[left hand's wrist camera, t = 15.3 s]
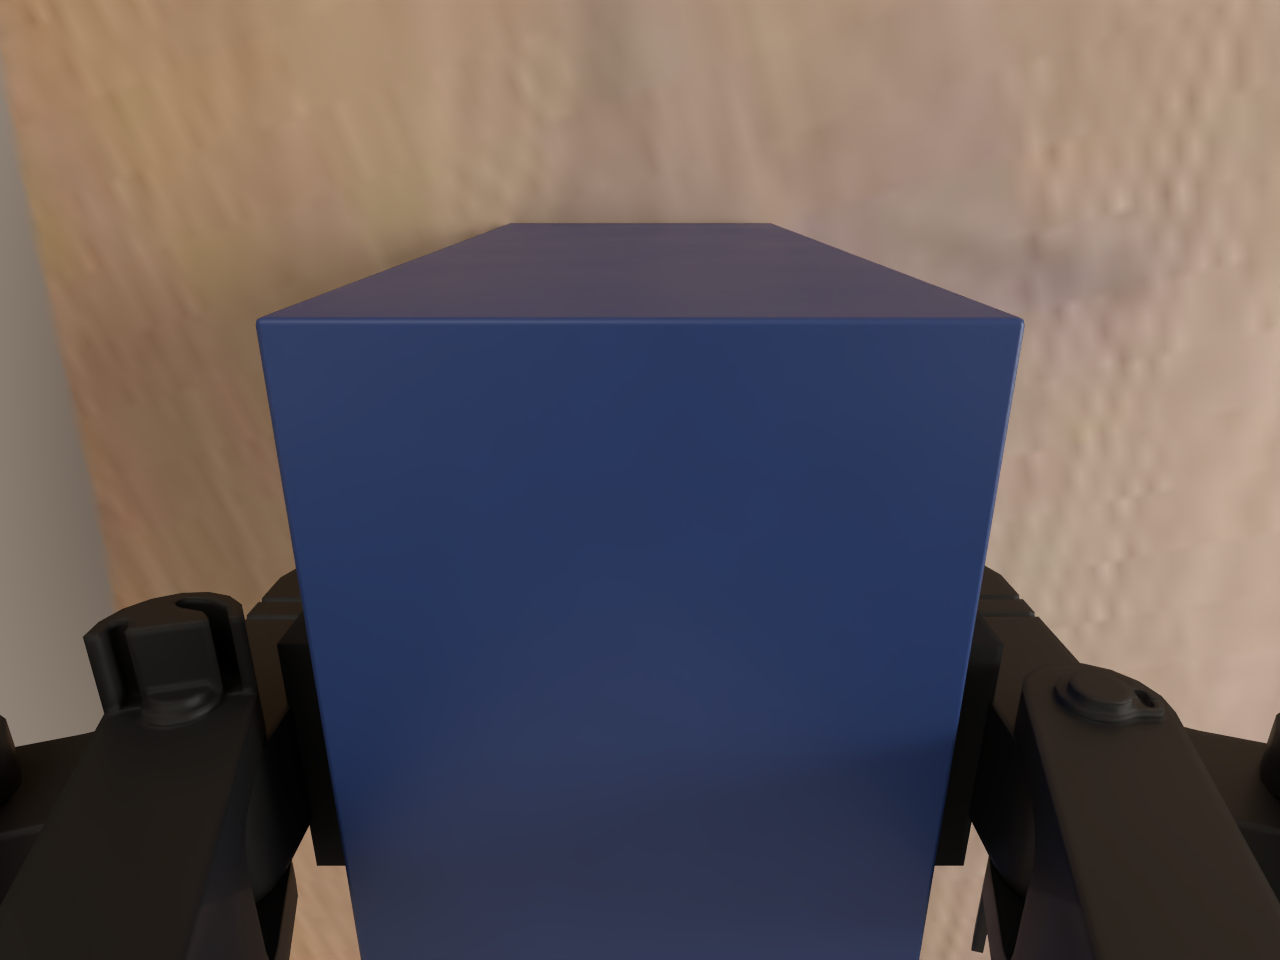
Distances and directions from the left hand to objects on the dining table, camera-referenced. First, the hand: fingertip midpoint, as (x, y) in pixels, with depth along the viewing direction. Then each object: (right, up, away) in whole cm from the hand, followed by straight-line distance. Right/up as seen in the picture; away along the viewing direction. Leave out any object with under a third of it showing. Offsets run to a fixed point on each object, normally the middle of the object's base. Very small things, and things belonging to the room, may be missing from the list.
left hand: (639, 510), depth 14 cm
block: (0, +1, +4) cm, 4 cm away
